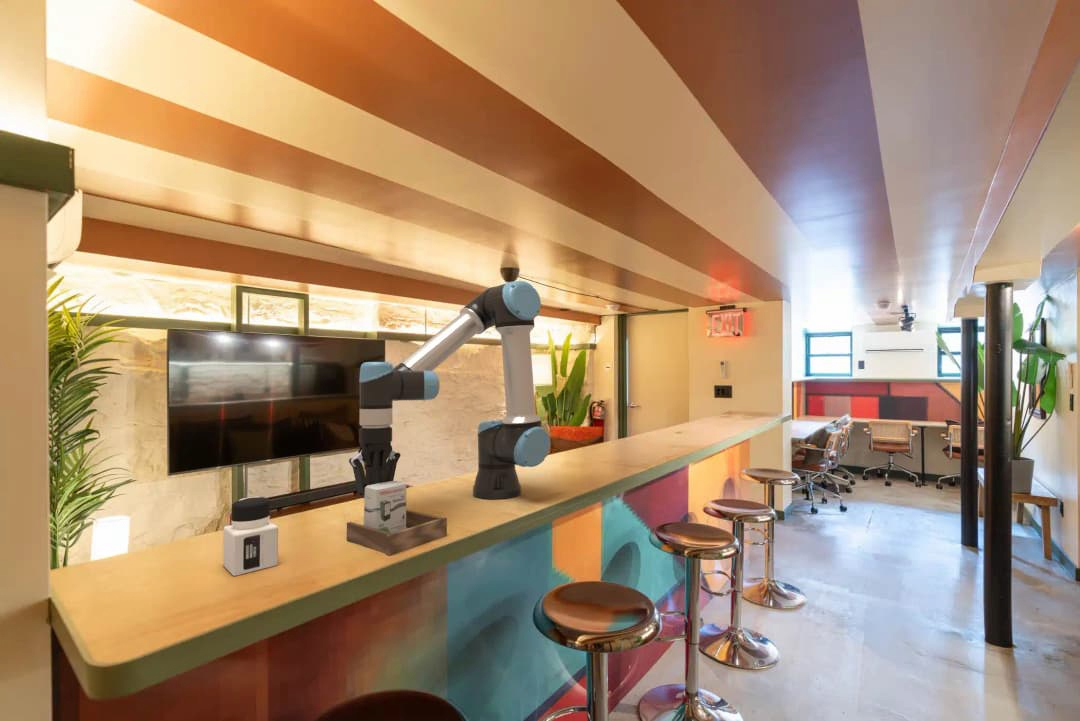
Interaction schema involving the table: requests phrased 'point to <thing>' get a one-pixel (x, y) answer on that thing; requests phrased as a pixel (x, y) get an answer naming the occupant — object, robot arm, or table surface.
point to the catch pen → (399, 533)
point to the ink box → (385, 506)
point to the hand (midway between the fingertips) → (375, 525)
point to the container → (250, 537)
